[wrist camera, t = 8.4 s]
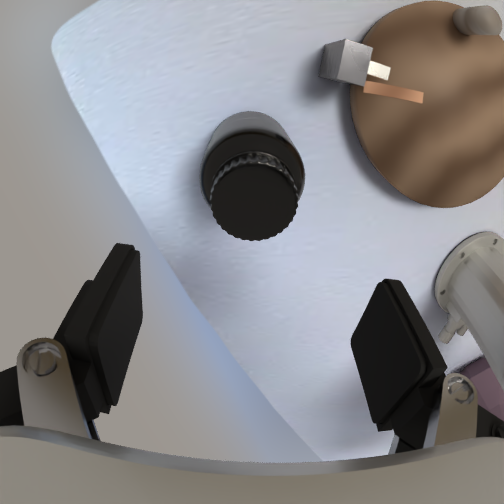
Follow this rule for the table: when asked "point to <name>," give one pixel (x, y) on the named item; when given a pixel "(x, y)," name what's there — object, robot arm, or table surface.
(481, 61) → the disc
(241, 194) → the supplement bottle
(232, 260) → the table surface
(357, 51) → the index pointer
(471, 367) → the flask
